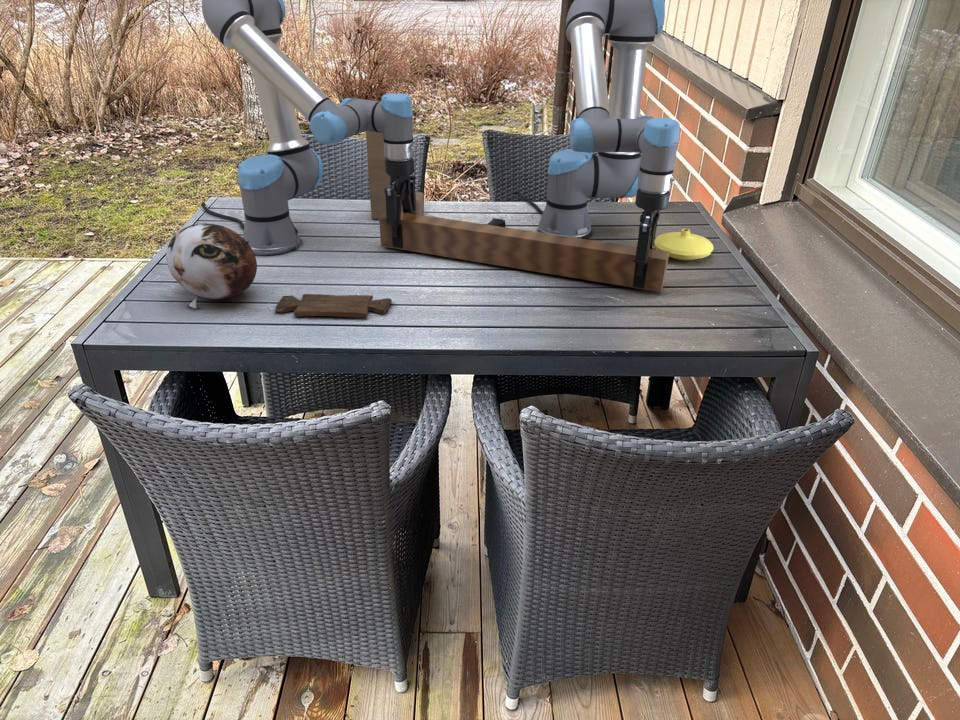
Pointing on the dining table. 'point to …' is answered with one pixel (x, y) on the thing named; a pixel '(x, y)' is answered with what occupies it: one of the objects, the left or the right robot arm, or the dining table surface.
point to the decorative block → (382, 177)
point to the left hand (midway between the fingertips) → (402, 242)
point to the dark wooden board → (333, 305)
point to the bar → (526, 250)
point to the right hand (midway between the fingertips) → (640, 281)
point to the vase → (684, 245)
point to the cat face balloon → (211, 261)
